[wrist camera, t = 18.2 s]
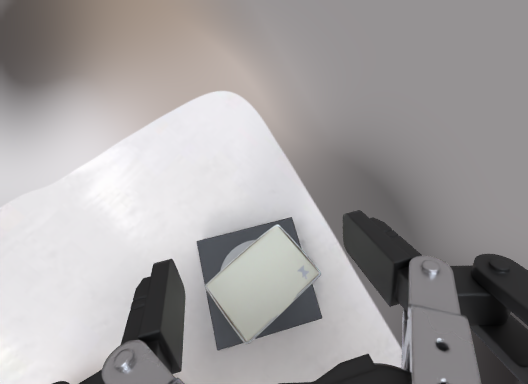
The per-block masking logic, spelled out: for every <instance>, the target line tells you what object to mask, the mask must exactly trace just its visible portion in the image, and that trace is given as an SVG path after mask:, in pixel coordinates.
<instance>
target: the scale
mask: <svg viewBox="0 0 528 384" xmlns="http://www.w3.org/2000/svg"><path fill="white" fill-rule="evenodd" d="M277 224H278V225H280V226H281V227H282V228H283V229H284V231H285V232H286V233H287V234H288V235H289V236H290V237H291V238H292V239H293V240H294V241H295V242H296V244H297V245H298V246H299V247H300V248H301V246H300V243H299V239H298V236H297V233H296V230H295V226H294V223H293V220H292V217H291V218H287V219H283V220H279V221H275V222H271V223H267V224H263V225H259V226H255V227H251V228H248V229H244V230H240V231H236V232H232V233H228V234H224V235H220V236H216V237H212V238H208V239H204V240H200V241H197V246H198V251H199V256H200V261H201V267H202V272H203V277H204V282H205V285H206V284H207V283H208V282H209V281H210V280H211V279H212V278H213V277H215V276H216V275H217V274H218V273H219V272H220V271H221V270H222V269H223V268H224V267H225V266H227V265H228V264H229V263H230V262H231V261H232V260H233V259H234V258H235V257H237V256H238V255H239V254H240V253H241V252H242V251H243V250H245V249H246V248H247V247H248V246H249V245H251V244H252V243H253V242H254V241H255V240H256V239H258V238H259V237H260V236H261V235H263V234H264V233H265V232H267V231H268V230H269V229H271V228H272V227H273V226H275V225H277ZM206 293H207V298H208V303H209V309H210V314H211V319H212V324H213V330H214V335H215V340H216V345H217V350H221V349H224V348H227V347H231V346H234V345H237V344H240V343H244V342H243V341H242V340H241V338H240V337H239V336H238V334H237V333H236V332H235V330H234V329H233V328H232V326H231V325H230V323H229V322H228V320H227V319H226V318H225V316H224V315H223V313H222V312H221V310H220V309H219V308H218V306H217V305H216V303H215V302H214V300H213V299H212V297H211V296H210V294H209V293H208V291H207V290H206ZM321 318H322V315H321V312H320V308H319V305H318V302H317V299H316V295H315V292H314V289H313V285H312V284H311V285H310V286H309V287H308V288H307V289H306V290H305V291H304V292H303V293H302V294H301V295H300V296H299V297H298V298H296V299H295V300H294V301H293V302H292V303H291V304H290V305H289V306H288V307H287V308H286V309H285V310H284V311H283V312H282V313H281V314H280V315H279V316H278V317H277V318H276V319H275V320H274V321H273V322H272V323H271V324H269V325H268V326H267V327H266V328H265V329H264V330H263V331H262V332H261V333H260V334H259V335H258V336H257V337H256V338H255V339H257V338H260V337H263V336H266V335H269V334H273V333H276V332H279V331H282V330H286V329H289V328H292V327H295V326H299V325H302V324H305V323H308V322H311V321H315V320H318V319H321Z"/></svg>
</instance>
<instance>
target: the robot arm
mask: <svg viewBox="0 0 528 384" xmlns="http://www.w3.org/2000/svg"><path fill="white" fill-rule="evenodd" d="M343 241H344V246H345V248H346V250H347V252H348V254H349V255H350V256H351V258H352V259H353V260H354V261H355V263H356V264H357V265H358V267H359V268H360V269H361V270H362V272H363V273H364V274H365V275H366V277H367V278H368V279H369V281H370V282H371V283H372V284H373V286H374V287H375V288H376V289H377V291H378V292H379V293H380V295H381V296H382V297H383V299H384V300H385V301H386V302H387V304H388V305H389V306H390V307H391V306H393V305H397V304H400V305H401V306H402V307H403V308H404V309H403V334H402V364H401V368H398V367H395V366H392V365H387V364H379V363H373V361H372V359H371V358H370V356H369V354H366V355H363V356H360V357H357V358H354V359H351V360H348V361H345V362H342V363H340V364H338V365H337V366H335V367H334V368H333V369H331V370H330V371H328V372H327V373H326V374H324V375H323V376H321V377H320V378H319V379H317V380H316V381H314V382H304V383H279V384H481V380H480V375H479V370H478V365H477V360H476V355H475V350H474V345H473V341H472V336H471V331H470V328H471V329H472V331H473V332H474V333H475V334H476V335H477V336H478V337H479V338H480V339H481V340H482V341H483V342H484V343H485V344H486V346H487V347H488V348H489V349H490V350H491V351H492V352H493V353H494V354H495V355H496V356H497V357H498V358H499V359H500V360H501V361H502V363H503V364H504V365H505V366H506V367H507V368H508V369H509V370H510V371H511V372H512V373H513V374H514V375H515V376H516V377H517V379H518V380H520V382H521V383H522V384H528V330H527V329H526V328H525V327H524V326H523V325H522V324H521V323H519V322H518V321H517V320H516V319H515V318H514V317H513V316H511V315H510V312H512V313H514V314H515V315H516V316H517V317H519V319H521V320H522V321H523V322H524V323H525V324H526V325H527V326H528V270H526V269H525V268H523V267H522V266H520V265H519V264H518V263H516V262H514V261H513V260H511V259H509V258H506V257H503V256H499V255H495V254H482V255H479V256H477V257H476V258H475V260H474V263H473V266H449V265H448V264H447V263H446V262H444V261H442V260H441V259H438V258H435V257H432V256H422V255H421V254H420V253H419V252H418V251H416V250H415V249H414V248H413V247H412V246H411V245H410V244H408V243H407V242H406V241H405V240H404V239H403V238H402V237H400V236H398V234H397V233H396V232H394V231H392V229H391V228H390V227H389V226H388V225H387V224H385V223H384V222H382V221H380V220H378V219H375V218H368V217H367V216H366V215H365V214H364V213H363V212H362V211H360V210H358V211H354V212H350V213H346V214H344V215H343ZM184 313H185V290H184V286H183V283H182V280H181V278H180V275H179V273H178V270H177V268H176V265H175V263H174V261H173V259H169V260H165V261H161V262H157V263H154V265H153V268H152V273H151V277H147V278H143V280H142V281H141V283H140V284H139V285H138V287H137V288H136V291H135V294H134V298H133V302H132V305H131V311H130V313H129V316H128V320H127V324H126V327H125V331H124V335H123V339H122V342H121V345H120V346H119V347H118V348H116V349H115V350H114V351H113V352H112V353H111V354H110V355H109V357H108V358H107V359H106V361H105V363H104V365H103V368H102V370H100V371H99V372H97V373H96V374H94V375H92V376H91V377H89V378H87V379H86V380H84V381H82V382H80V383H79V384H184V383H183V382H182V381H181V380H180V379H179V378H175V377H174V376H173V375H172V374H175V373H178V372H181V370H182V351H183V332H184ZM53 384H69V383H68V382H65V381H60V382H55V383H53Z"/></svg>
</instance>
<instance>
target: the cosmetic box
mask: <svg viewBox="0 0 528 384" xmlns="http://www.w3.org/2000/svg"><path fill="white" fill-rule="evenodd" d="M320 275H321V272H320V271H319V269H318V268H317V267H316V266H315V265H314V263H313V262H312V261H311V260H310V259H309V257H308V256H307V255H306V254H305V253H304V252H303V250H302V249H301V248H300V247H299V246H298V245H297V244H296V242H295V241H294V240H293V239H292V238H291V237H290V236H289V235H288V234H287V233H286V232H285V231H284V229H283V228H282V227H281V226H280V225H278V224H277V225H275V226H273V227H272V228H271V229H269V230H268V231H267V232H265V233H264V234H263V235H261V236H260V237H259V238H258V239H256V240H255V241H254V242H253V243H252V244H251V245H249V246H248V247H247V248H246V249H245V250H243V251H242V252H241V253H240V254H239V255H238V256H237V257H235V258H234V259H233V260H232V261H231V262H230V263H229V264H228V265H227V266H225V267H224V268H223V269H222V270H221V271H220V272H219V273H218V274H217V275H216V276H215V277H213V278H212V279H211V280H210V281H209V282H208V283H207V284H206V285H205V288H206V290H207V291H208V293H209V294H210V296H211V297H212V299H213V300H214V302H215V303H216V305H217V306H218V308H219V309H220V310H221V312H222V313H223V315H224V316H225V318H226V319H227V320H228V322H229V323H230V325H231V326H232V328H233V329H234V330H235V332H236V333H237V334H238V336H239V337H240V338H241V340H242V341H243V342H244V343H245V344H249V343H250V342H251V341H252V340H254V339H255V338H256V337H257V336H258V335H259V334H260V333H261V332H262V331H263V330H264V329H265V328H266V327H267V326H268V325H269V324H271V323H272V322H273V321H274V320H275V319H276V318H277V317H278V316H279V315H280V314H281V313H282V312H283V311H284V310H285V309H286V308H287V307H288V306H289V305H290V304H291V303H292V302H293V301H294V300H295V299H296V298H298V297H299V296H300V295H301V294H302V293H303V292H304V291H305V290H306V289H307V288H308V287H309V286H310V285H311V284H312V283H313V282H314V281H315V280H316V279H317V278H318V277H319V276H320Z"/></svg>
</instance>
